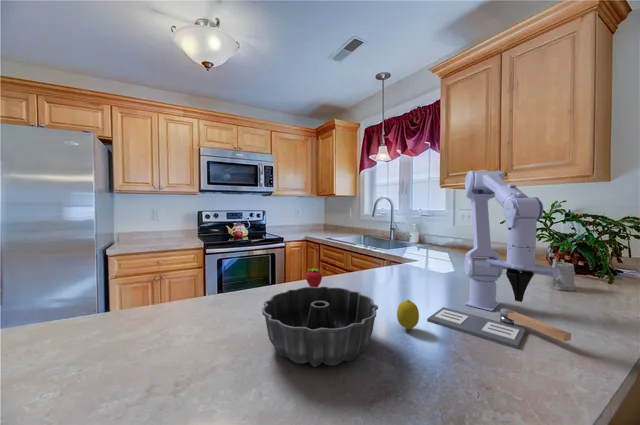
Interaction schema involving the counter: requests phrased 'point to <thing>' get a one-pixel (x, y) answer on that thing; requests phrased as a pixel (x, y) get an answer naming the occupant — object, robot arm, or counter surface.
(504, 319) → the shiny grey curved piece
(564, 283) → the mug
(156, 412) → the counter surface
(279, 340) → the bundt pan
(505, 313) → the bar
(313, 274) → the strawberry
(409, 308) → the lemon
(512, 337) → the panel
